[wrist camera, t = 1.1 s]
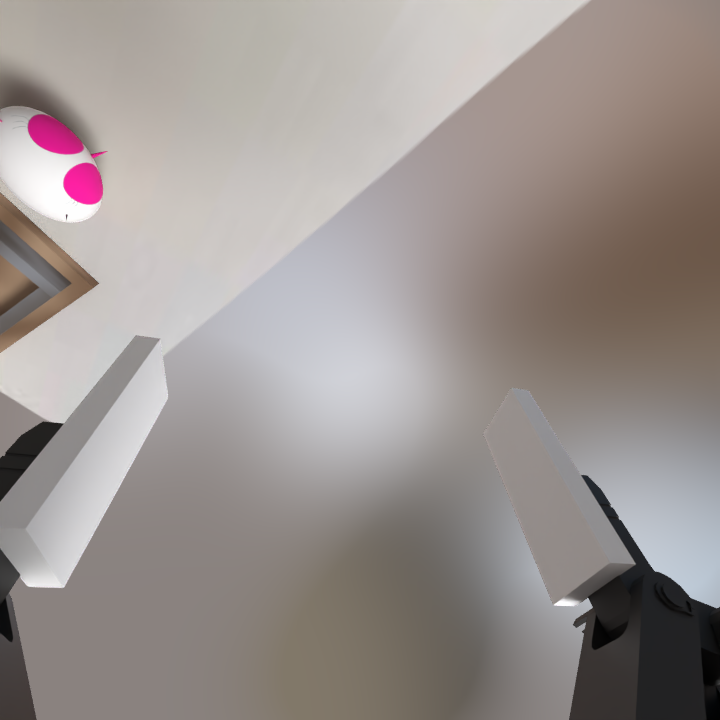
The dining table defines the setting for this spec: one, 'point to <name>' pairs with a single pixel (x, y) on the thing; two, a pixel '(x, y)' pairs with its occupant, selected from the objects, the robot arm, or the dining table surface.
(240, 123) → the dining table surface
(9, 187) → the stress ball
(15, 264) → the cradle
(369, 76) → the dining table surface
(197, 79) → the dining table surface
